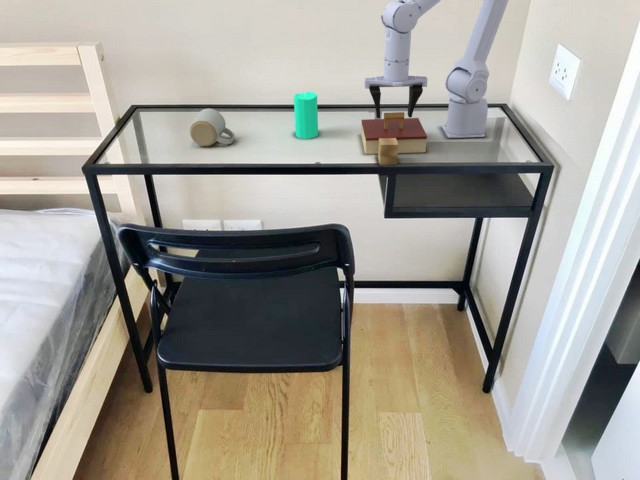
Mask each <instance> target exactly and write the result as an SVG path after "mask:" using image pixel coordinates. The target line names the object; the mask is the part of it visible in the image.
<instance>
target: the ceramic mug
mask: <svg viewBox="0 0 640 480" xmlns="http://www.w3.org/2000/svg"><path fill="white" fill-rule="evenodd" d="M189 134H190V137H191V140H192V141H193V142H194V143H195V144H197V145H199V146H201V147H210V146H212V145H214V144H215V143H217V142H218V143H220V144H223V145H231V144H233V143H234V141H235V138H236V134H235V133H234V132H233V131H232V130H231V129H230V128H228V127H226V120H225V117H224V116H223V115H222V114H221V113H220V112H219V111H217V110H216V109H214V108H204V109H202V110H200V111H199V112H198V113H197V116H196V117H195V118H194V120H193V121H192V122H191V125H190V128H189ZM222 134H225V135H227V136H229V137H230V138H224V137H222Z"/></svg>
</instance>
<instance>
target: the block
mask: <svg viewBox="0 0 640 480" xmlns="http://www.w3.org/2000/svg"><path fill="white" fill-rule="evenodd" d="M398 154H399V153H398V143H397V140H396V138H379V146H378V154H377V160H378V163H379V166H395V165H398V157H399V156H398Z"/></svg>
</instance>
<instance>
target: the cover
mask: <svg viewBox="0 0 640 480" xmlns="http://www.w3.org/2000/svg"><path fill="white" fill-rule="evenodd" d="M361 123H362V126H363V131H364V135H365V139H366V141H375V140H379V138H396V140H407V139H428V135H427V133H426V131H425V129H424V127H423V124H422V123H421V121H420V118H419V117H405V112H404V111H400V112H399V111H397V112H395V111H394V112H383V118H371V119H369V118H367V119H361Z"/></svg>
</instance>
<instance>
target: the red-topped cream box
mask: <svg viewBox="0 0 640 480" xmlns="http://www.w3.org/2000/svg"><path fill="white" fill-rule="evenodd" d="M360 125H361V126H360V127H361V128H360V129H361V130H360V131H361V132H360V134H361V135H360V137H361V141H362V145H363V146H362V147H363V150H364V154H365V155H378V146H379V140H375V141H366V139H365V135H364V131H363V126H362V122H361V124H360ZM427 139H428V138H427ZM427 139H407V140H397V143H398V154H413V153H417V154H419V153H427V152H426V149H427Z"/></svg>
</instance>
